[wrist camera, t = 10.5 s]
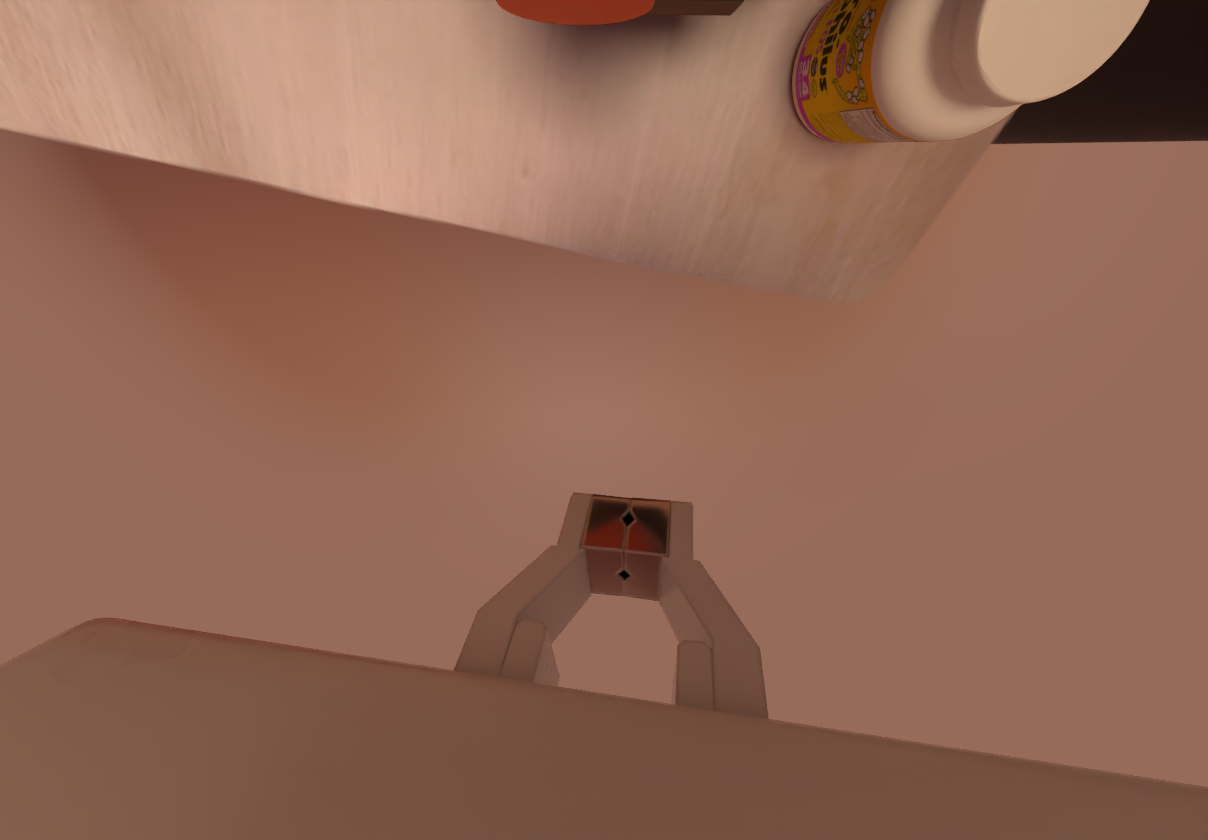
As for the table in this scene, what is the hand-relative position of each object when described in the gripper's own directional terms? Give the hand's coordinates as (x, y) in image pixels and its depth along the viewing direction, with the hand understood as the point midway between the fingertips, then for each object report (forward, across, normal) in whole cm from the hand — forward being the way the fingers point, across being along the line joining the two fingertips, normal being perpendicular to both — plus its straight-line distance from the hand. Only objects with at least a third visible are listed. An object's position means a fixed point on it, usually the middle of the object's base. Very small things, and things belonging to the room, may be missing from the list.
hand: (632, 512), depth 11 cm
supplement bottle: (+24, +9, +8) cm, 27 cm away
